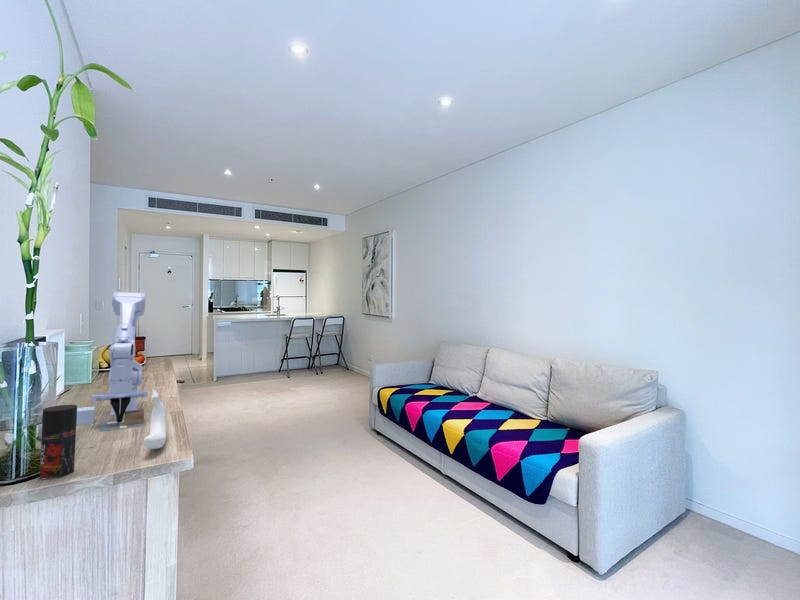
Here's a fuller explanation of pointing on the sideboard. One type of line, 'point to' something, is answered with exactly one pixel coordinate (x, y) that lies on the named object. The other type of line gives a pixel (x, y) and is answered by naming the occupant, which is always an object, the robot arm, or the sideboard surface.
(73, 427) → the deodorant
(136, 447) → the sideboard surface
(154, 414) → the white curved piece
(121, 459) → the sideboard surface
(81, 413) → the blue cube
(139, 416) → the walnut block
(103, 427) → the letter card
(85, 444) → the sideboard surface
